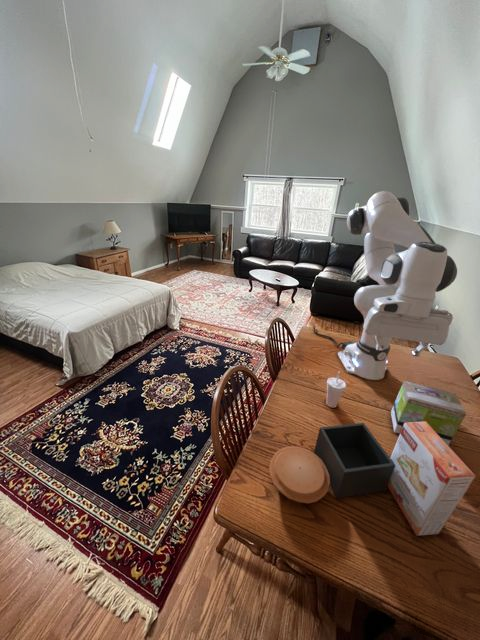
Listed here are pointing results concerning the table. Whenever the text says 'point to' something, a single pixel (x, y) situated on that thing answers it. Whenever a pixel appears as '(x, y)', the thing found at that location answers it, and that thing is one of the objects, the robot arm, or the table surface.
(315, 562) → the table surface
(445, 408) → the tea box
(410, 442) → the cracker box
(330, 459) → the trash bin
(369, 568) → the table surface
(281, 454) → the pie
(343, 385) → the smoothie
